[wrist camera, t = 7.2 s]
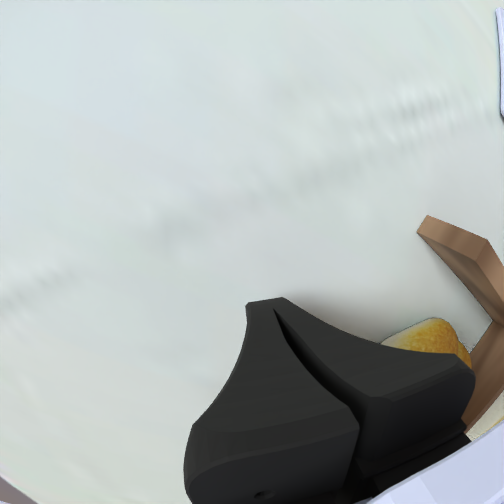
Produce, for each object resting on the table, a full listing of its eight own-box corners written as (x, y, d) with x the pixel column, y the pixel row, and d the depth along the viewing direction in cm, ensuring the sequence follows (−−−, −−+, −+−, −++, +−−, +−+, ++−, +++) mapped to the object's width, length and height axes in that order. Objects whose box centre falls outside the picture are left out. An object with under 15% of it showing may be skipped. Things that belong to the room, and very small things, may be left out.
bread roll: (419, 289, 15) (468, 324, 11) (463, 354, 18) (497, 384, 14) (311, 397, 16) (338, 450, 12) (383, 433, 19) (407, 470, 15)
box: (250, 434, 16) (264, 490, 12) (427, 215, 13) (487, 239, 10) (379, 457, 20) (399, 492, 16) (503, 313, 18) (538, 338, 14)
